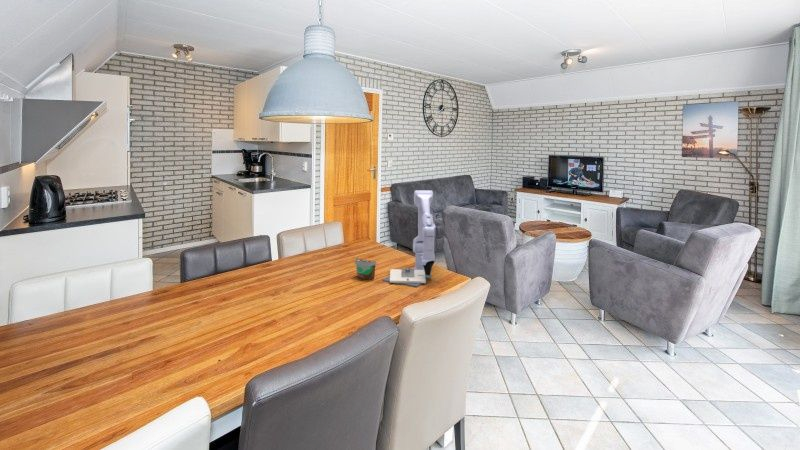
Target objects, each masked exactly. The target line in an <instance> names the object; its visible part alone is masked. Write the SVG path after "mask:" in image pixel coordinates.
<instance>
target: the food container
mask: <svg viewBox="0 0 800 450" xmlns="http://www.w3.org/2000/svg"><path fill="white" fill-rule="evenodd" d="M354 264H355V268H356V277H357V280H360V281H372V280H374V279H375V274H376V273H375V272H376V265H377V260H373V261H372V260H368V259H360V258H358V257H356V258H355V260H354Z"/></svg>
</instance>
